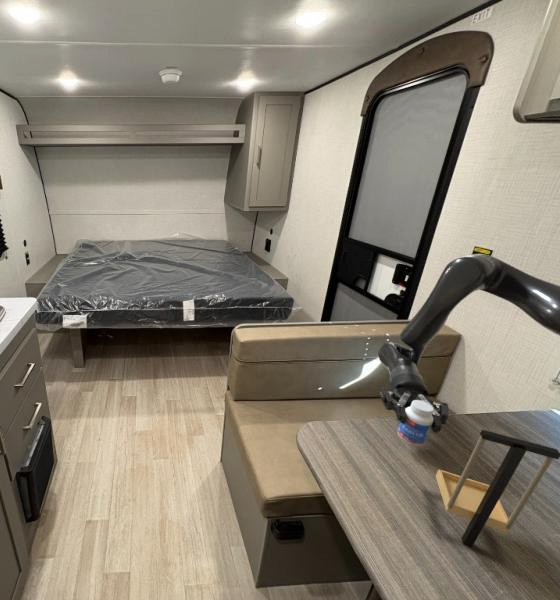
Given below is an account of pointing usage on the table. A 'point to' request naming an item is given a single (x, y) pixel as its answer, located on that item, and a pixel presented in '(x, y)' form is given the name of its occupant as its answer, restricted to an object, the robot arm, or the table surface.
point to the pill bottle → (416, 423)
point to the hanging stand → (490, 487)
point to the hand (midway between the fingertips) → (420, 424)
